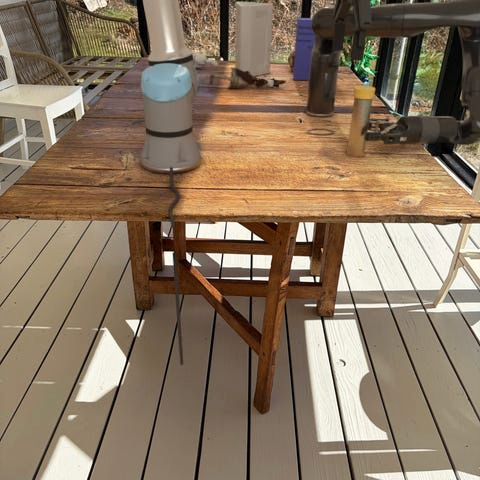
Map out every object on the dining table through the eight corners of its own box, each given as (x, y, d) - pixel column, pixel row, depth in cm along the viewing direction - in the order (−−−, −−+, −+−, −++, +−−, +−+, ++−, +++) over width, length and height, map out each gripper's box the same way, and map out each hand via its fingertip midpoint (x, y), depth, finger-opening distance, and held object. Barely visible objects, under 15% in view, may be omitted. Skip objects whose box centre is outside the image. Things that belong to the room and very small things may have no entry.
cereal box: (333, 78, 208) (339, 18, 196) (334, 81, 204) (341, 19, 192) (293, 77, 209) (297, 17, 197) (293, 79, 205) (297, 18, 193)
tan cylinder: (357, 158, 128) (367, 92, 119) (343, 153, 131) (352, 89, 122) (367, 154, 131) (377, 90, 122) (353, 149, 133) (362, 86, 125)
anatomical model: (297, 75, 231) (295, 75, 217) (284, 62, 230) (281, 61, 216) (315, 54, 226) (315, 52, 212) (302, 41, 225) (301, 38, 211)
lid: (366, 100, 120) (367, 91, 118) (349, 96, 123) (350, 87, 122) (378, 97, 123) (379, 88, 121) (360, 93, 126) (362, 84, 125)
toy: (173, 75, 210) (172, 58, 207) (149, 64, 228) (148, 49, 224) (220, 69, 222) (220, 53, 218) (194, 59, 239) (193, 45, 236)
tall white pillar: (273, 76, 210) (276, 6, 196) (239, 77, 209) (240, 6, 194) (266, 67, 226) (268, 2, 212) (235, 67, 225) (235, 1, 210)
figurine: (210, 87, 179) (288, 95, 182) (212, 65, 176) (291, 73, 180) (208, 84, 201) (278, 91, 205) (210, 64, 198) (280, 71, 202)
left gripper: (324, -43, 120) (317, 47, 131) (363, -41, 99) (350, 65, 110) (352, -43, 122) (343, 46, 132) (396, -41, 100) (381, 64, 111)
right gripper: (409, 108, 133) (353, 109, 132) (432, 124, 121) (370, 125, 120) (404, 134, 137) (349, 136, 135) (426, 152, 125) (366, 154, 123)
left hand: (346, 55), depth 121 cm, fingers open, 13 cm apart
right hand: (359, 131), depth 128 cm, fingers open, 8 cm apart
